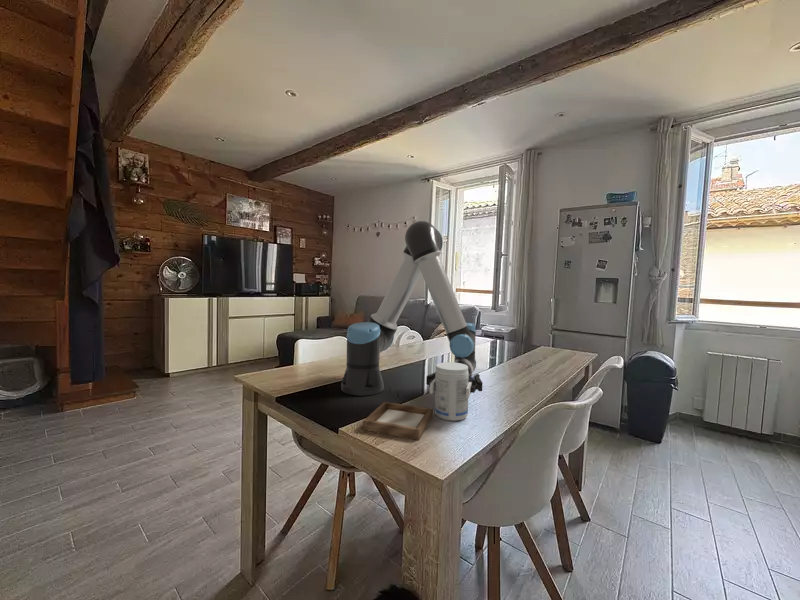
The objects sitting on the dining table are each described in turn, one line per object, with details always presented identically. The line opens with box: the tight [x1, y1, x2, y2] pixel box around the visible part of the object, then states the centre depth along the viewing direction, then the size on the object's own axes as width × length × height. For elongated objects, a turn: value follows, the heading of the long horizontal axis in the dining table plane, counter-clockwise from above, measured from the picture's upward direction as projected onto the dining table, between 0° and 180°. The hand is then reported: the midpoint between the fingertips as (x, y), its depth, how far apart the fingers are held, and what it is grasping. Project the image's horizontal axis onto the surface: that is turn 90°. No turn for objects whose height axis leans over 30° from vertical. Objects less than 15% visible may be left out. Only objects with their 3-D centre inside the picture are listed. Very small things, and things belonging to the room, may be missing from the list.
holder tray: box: [362, 401, 434, 441], centre depth 90 cm, size 15×15×2 cm
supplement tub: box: [434, 361, 469, 422], centre depth 96 cm, size 10×10×15 cm
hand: (449, 391), depth 92 cm, fingers closed on supplement tub, 9 cm apart
